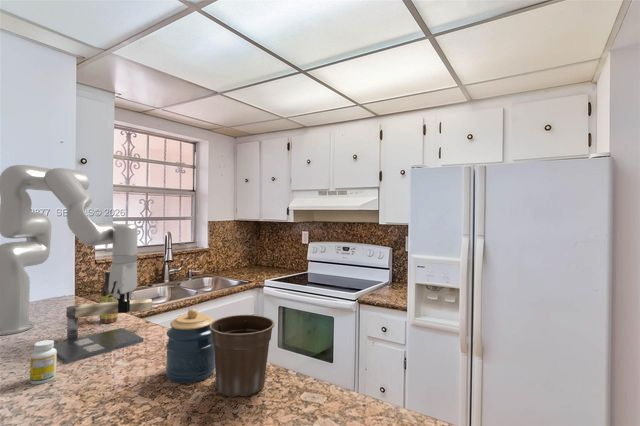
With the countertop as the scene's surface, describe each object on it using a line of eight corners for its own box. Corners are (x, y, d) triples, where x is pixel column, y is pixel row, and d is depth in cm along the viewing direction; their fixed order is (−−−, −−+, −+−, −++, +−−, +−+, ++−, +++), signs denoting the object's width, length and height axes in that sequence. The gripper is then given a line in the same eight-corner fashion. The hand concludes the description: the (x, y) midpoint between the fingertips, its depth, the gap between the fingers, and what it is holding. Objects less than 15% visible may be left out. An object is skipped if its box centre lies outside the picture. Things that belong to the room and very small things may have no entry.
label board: (41, 345, 111) (42, 322, 111) (114, 327, 129) (114, 307, 129) (66, 363, 99) (67, 337, 99) (143, 341, 117) (143, 319, 117)
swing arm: (64, 318, 114) (65, 309, 114) (67, 314, 118) (68, 305, 118) (151, 310, 126) (151, 301, 126) (151, 306, 130) (151, 298, 130)
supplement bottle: (48, 383, 87) (49, 346, 87) (24, 385, 86) (25, 347, 86) (60, 374, 93) (61, 338, 93) (38, 375, 92) (38, 339, 92)
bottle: (109, 324, 133) (110, 273, 133) (95, 323, 134) (96, 272, 134) (122, 319, 139) (123, 270, 139) (108, 318, 140) (109, 269, 140)
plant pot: (238, 366, 100) (240, 310, 100) (284, 380, 92) (286, 320, 92) (194, 390, 86) (195, 326, 86) (244, 410, 78) (246, 339, 78)
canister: (224, 367, 99) (226, 305, 99) (194, 388, 87) (196, 318, 87) (188, 359, 104) (189, 301, 104) (154, 379, 91) (155, 312, 91)
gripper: (126, 256, 127) (125, 306, 127) (100, 262, 113) (99, 318, 113) (146, 257, 127) (145, 306, 127) (122, 262, 112) (121, 319, 112)
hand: (123, 312), depth 120 cm, fingers closed
